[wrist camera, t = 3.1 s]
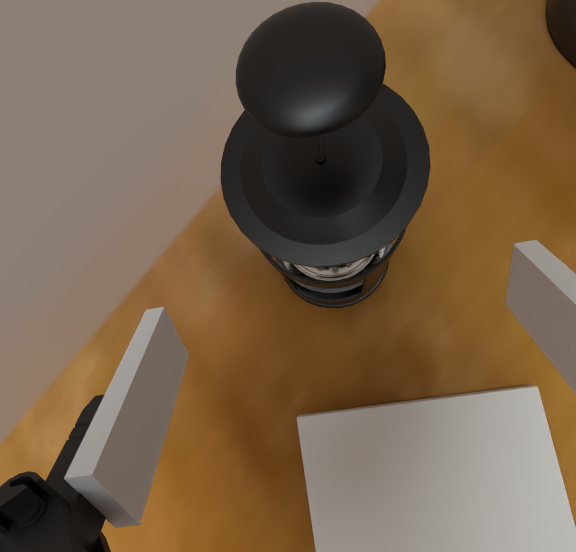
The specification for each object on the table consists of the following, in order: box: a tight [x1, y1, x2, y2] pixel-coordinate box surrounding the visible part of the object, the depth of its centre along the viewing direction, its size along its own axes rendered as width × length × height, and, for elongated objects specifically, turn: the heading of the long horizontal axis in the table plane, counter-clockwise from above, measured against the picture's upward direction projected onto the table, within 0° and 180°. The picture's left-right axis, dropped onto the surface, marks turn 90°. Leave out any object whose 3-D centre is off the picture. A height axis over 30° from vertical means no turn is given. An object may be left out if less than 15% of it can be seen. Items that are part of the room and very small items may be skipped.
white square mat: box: [296, 385, 576, 552], centre depth 27 cm, size 18×18×1 cm
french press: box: [221, 2, 430, 308], centre depth 21 cm, size 12×9×23 cm
